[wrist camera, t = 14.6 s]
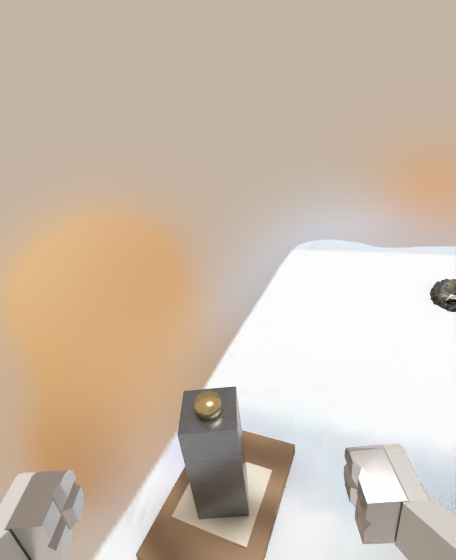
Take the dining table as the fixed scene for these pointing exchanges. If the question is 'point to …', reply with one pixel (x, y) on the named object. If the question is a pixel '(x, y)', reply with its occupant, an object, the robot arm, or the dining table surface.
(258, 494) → the walnut board
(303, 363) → the dining table surface
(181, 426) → the block
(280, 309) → the dining table surface
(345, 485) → the robot arm
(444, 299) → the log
